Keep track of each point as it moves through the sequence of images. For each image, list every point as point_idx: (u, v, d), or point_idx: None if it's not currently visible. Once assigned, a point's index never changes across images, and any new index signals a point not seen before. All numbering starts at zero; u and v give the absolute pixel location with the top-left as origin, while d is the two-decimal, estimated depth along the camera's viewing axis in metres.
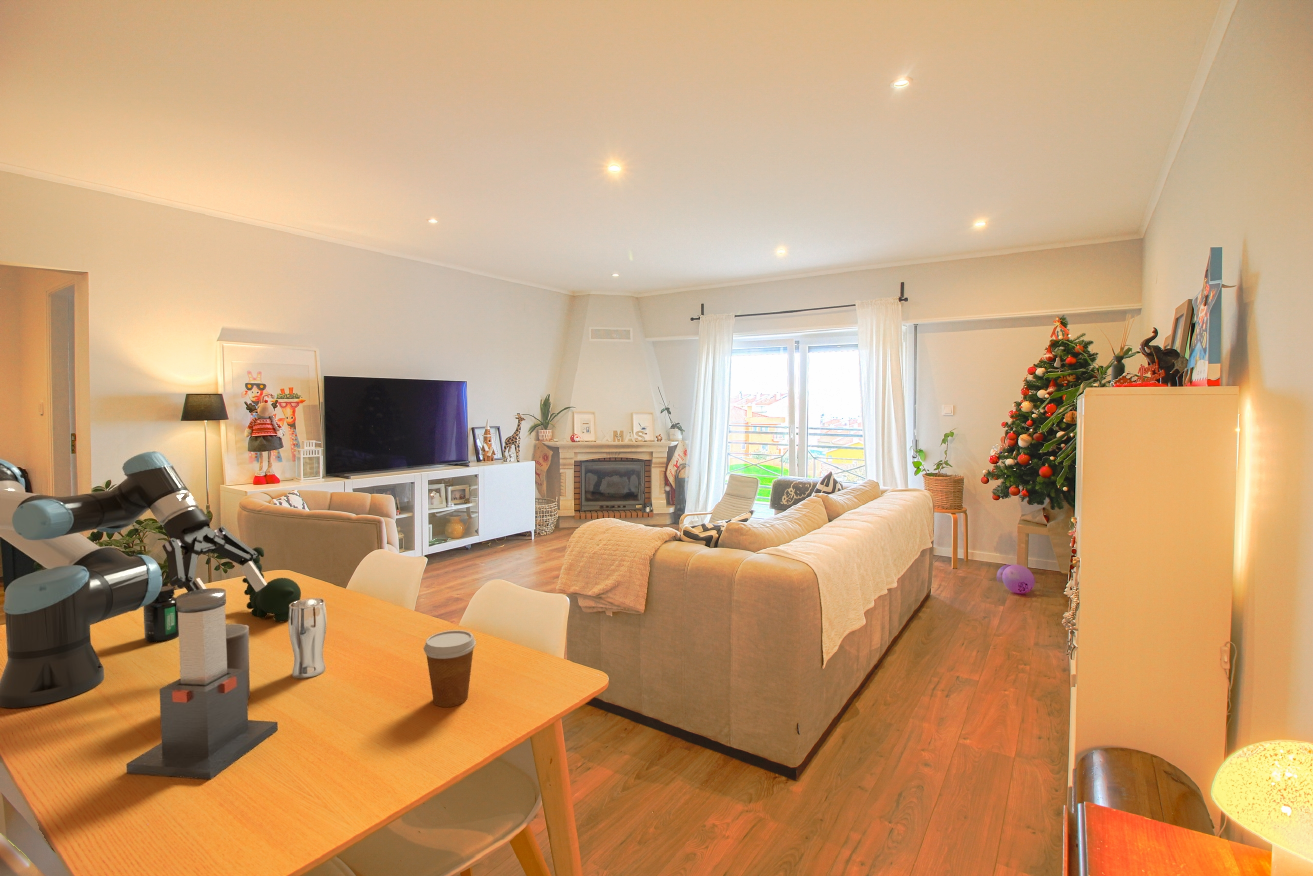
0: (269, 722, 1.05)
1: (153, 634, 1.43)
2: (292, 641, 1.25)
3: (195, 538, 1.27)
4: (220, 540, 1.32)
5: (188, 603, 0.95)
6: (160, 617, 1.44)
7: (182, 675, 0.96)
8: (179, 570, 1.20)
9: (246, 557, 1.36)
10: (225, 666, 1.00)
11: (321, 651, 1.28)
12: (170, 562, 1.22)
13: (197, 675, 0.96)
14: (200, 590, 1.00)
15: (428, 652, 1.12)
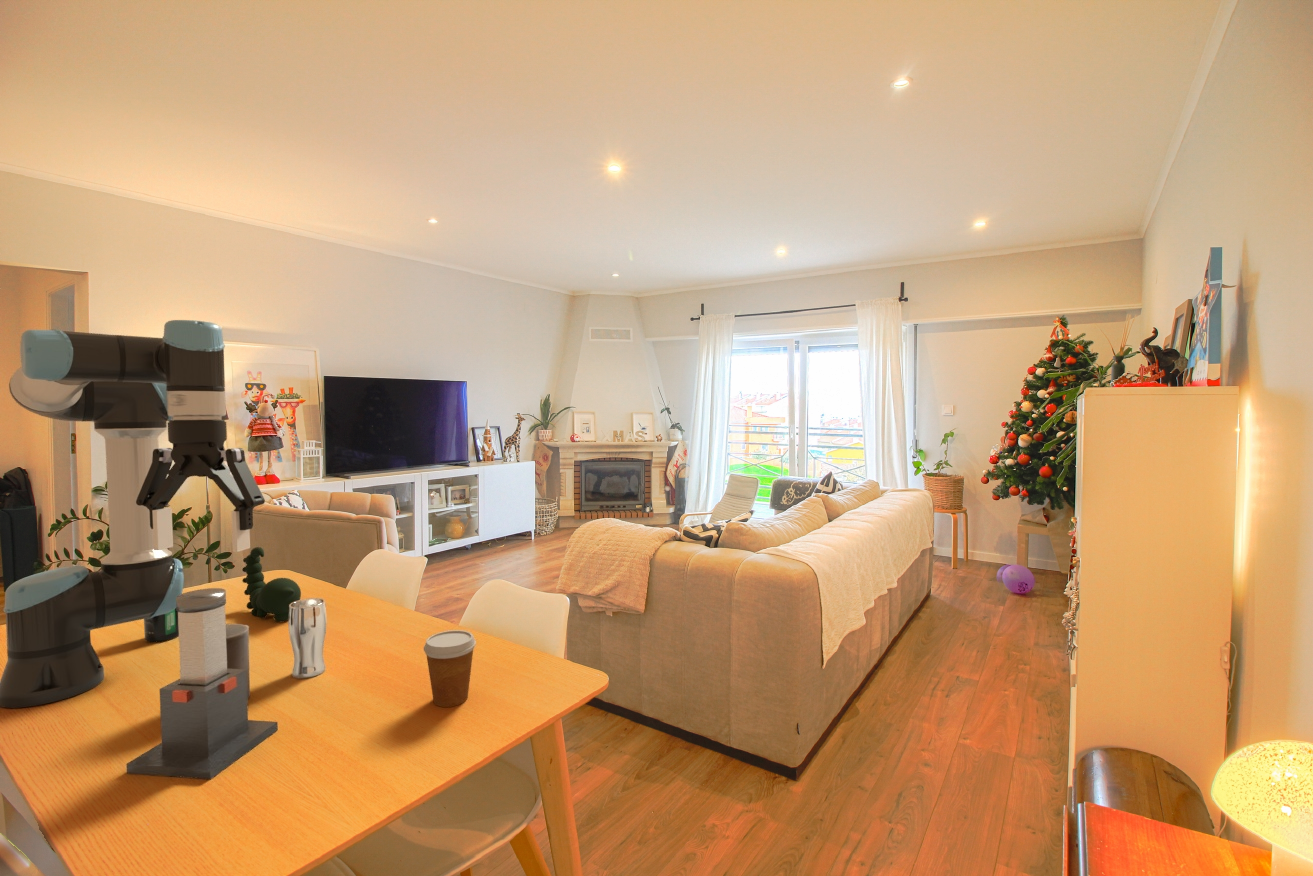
0: (269, 722, 1.05)
1: (153, 634, 1.43)
2: (292, 641, 1.25)
3: None
4: (207, 471, 0.96)
5: (188, 603, 0.95)
6: (160, 617, 1.44)
7: (182, 675, 0.96)
8: (141, 492, 0.97)
9: (234, 504, 0.96)
10: (225, 666, 1.00)
11: (321, 651, 1.28)
12: None
13: (197, 675, 0.96)
14: (200, 590, 1.00)
15: (428, 652, 1.12)
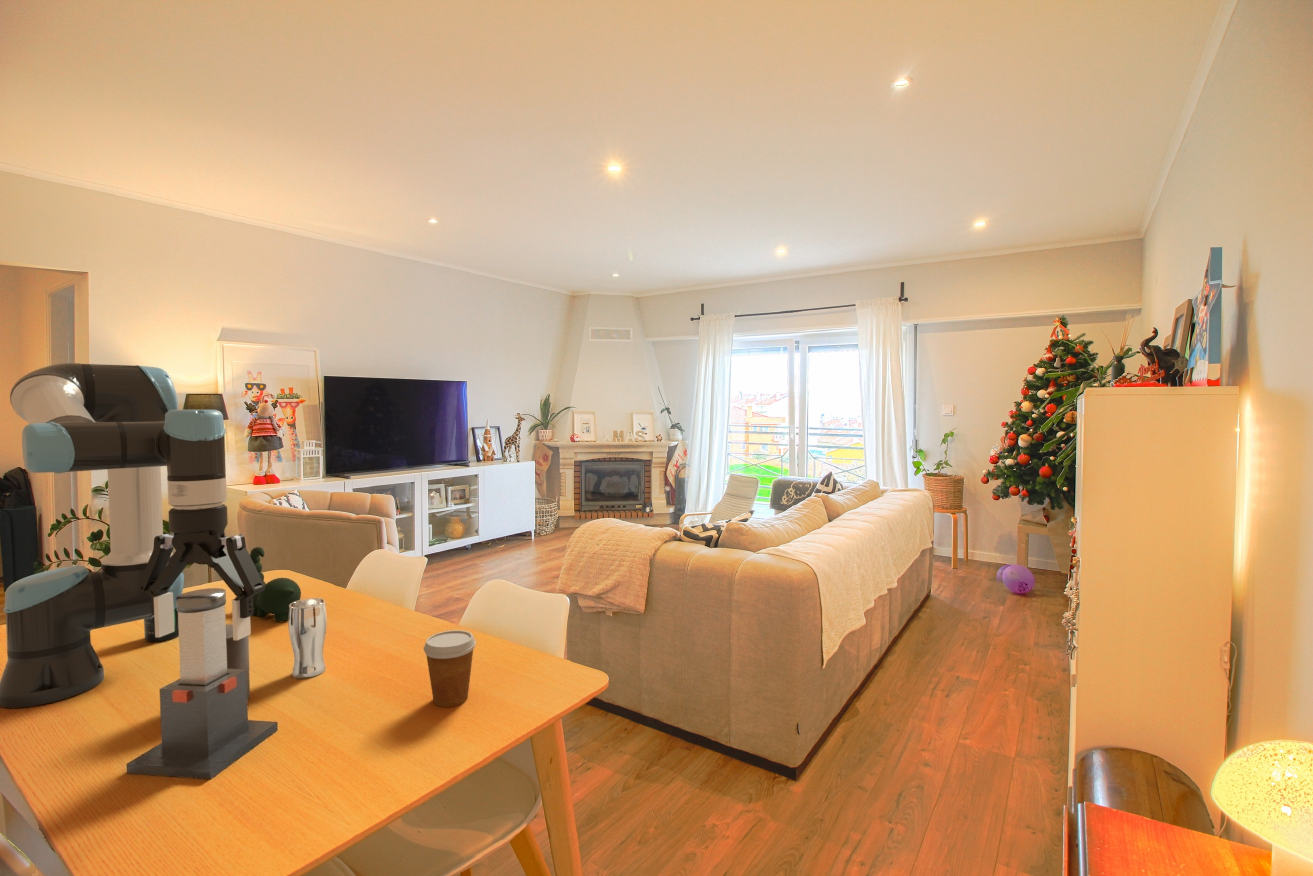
0: (269, 722, 1.05)
1: (153, 634, 1.43)
2: (292, 641, 1.25)
3: None
4: (207, 559, 0.95)
5: (188, 603, 0.95)
6: None
7: (182, 675, 0.96)
8: (142, 579, 0.97)
9: (235, 592, 0.96)
10: (225, 666, 1.00)
11: (321, 651, 1.28)
12: None
13: (197, 675, 0.96)
14: (200, 590, 1.00)
15: (428, 652, 1.12)
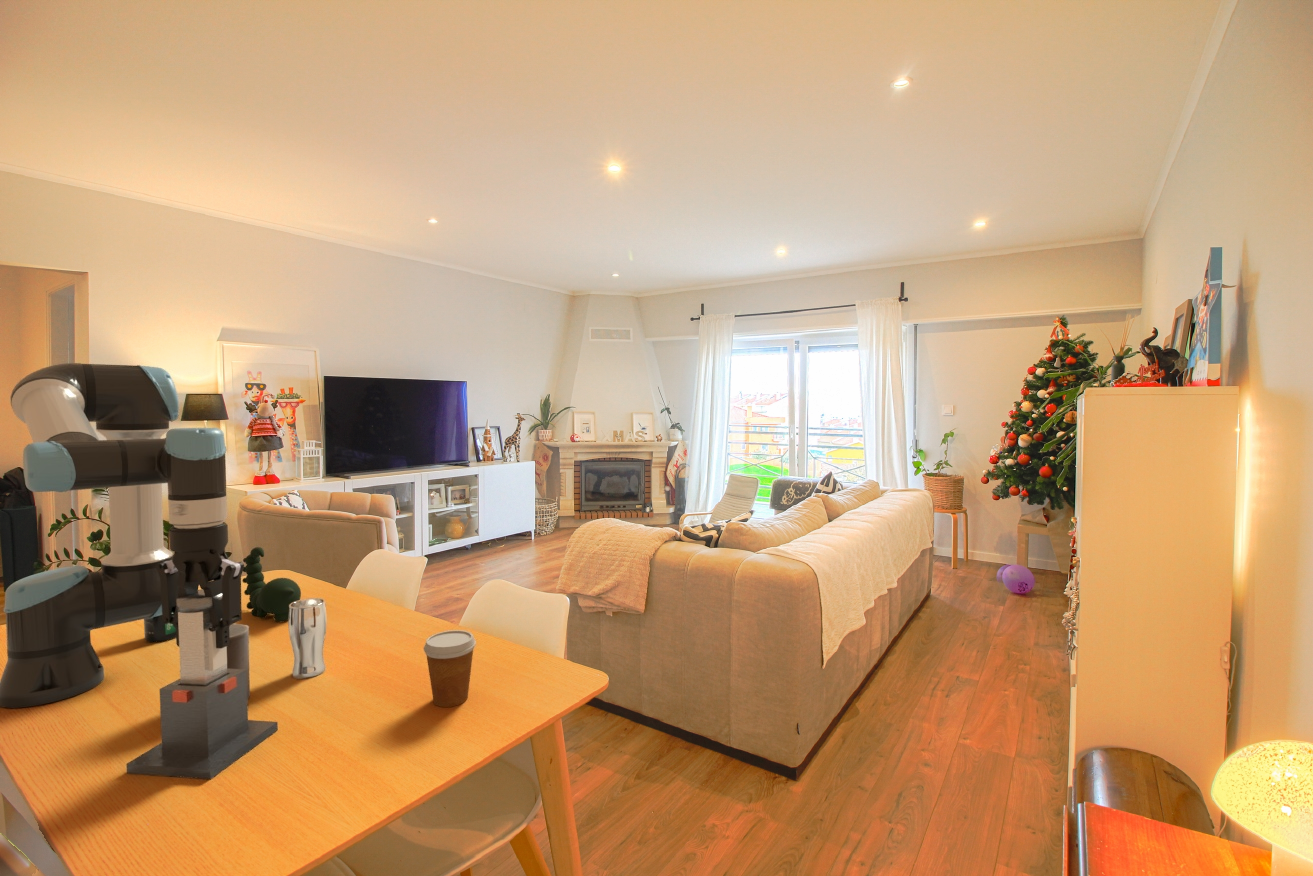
0: (269, 722, 1.05)
1: (153, 634, 1.43)
2: (292, 641, 1.25)
3: None
4: (202, 581, 0.96)
5: (188, 603, 0.95)
6: (160, 617, 1.44)
7: (182, 676, 0.96)
8: (164, 610, 0.97)
9: (212, 621, 0.96)
10: (225, 666, 1.00)
11: (321, 651, 1.28)
12: None
13: (197, 675, 0.96)
14: (200, 590, 1.00)
15: (428, 652, 1.12)
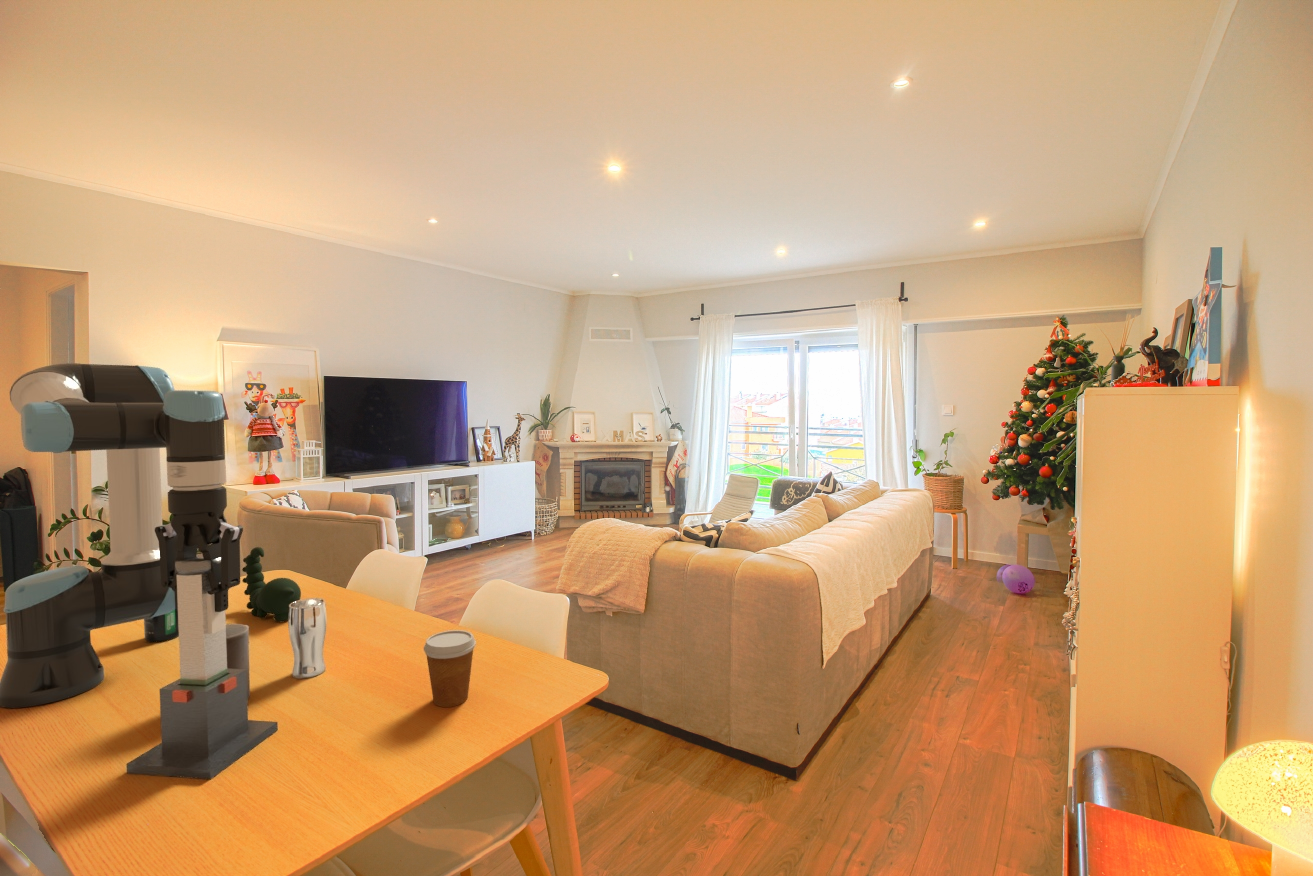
0: (269, 722, 1.05)
1: (153, 634, 1.43)
2: (292, 641, 1.25)
3: None
4: (200, 544, 0.95)
5: (187, 566, 0.94)
6: (160, 617, 1.44)
7: (181, 639, 0.96)
8: (162, 574, 0.97)
9: (211, 584, 0.96)
10: (224, 631, 1.00)
11: (321, 651, 1.28)
12: None
13: (196, 638, 0.96)
14: (199, 554, 0.99)
15: (428, 652, 1.12)
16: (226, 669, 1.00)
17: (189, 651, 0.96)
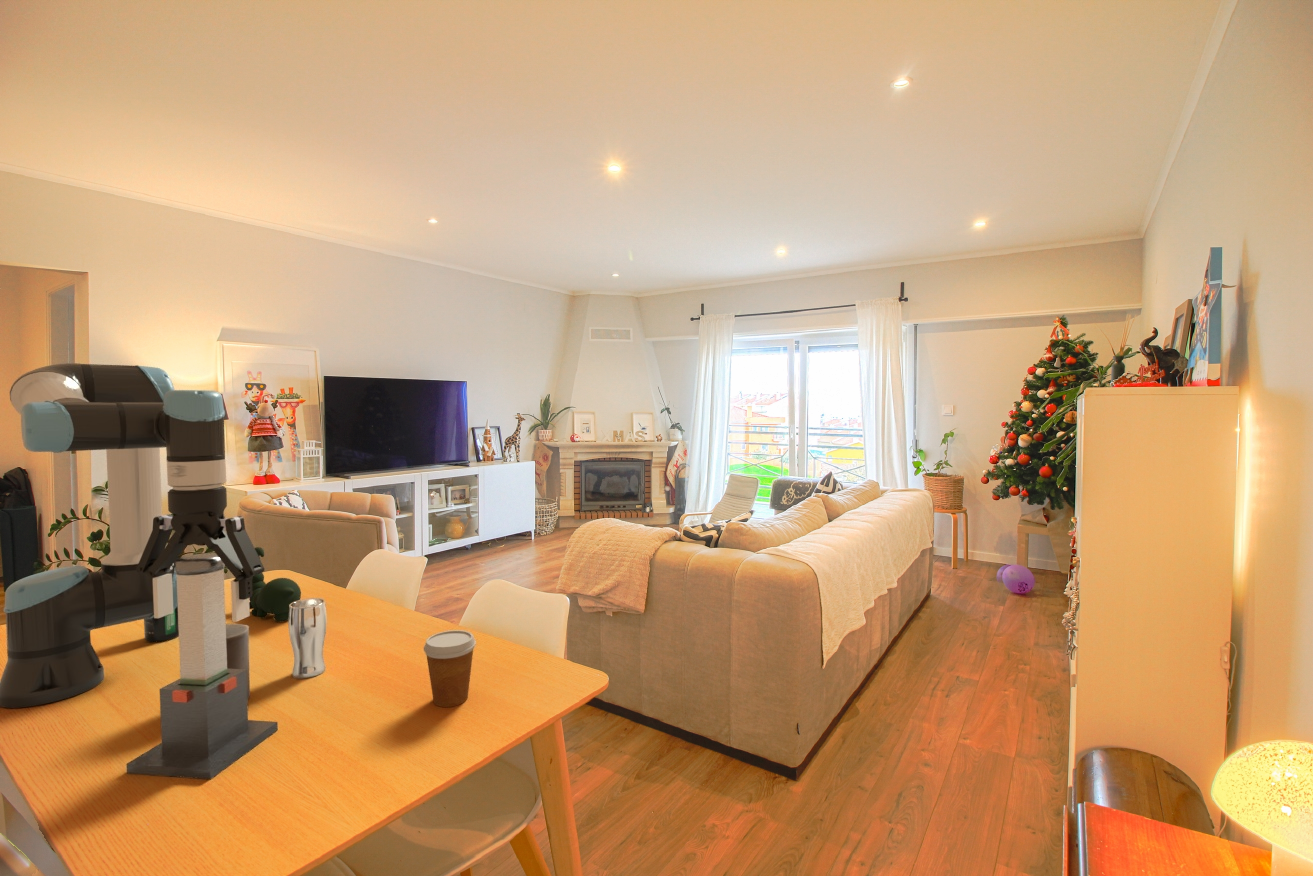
0: (269, 722, 1.05)
1: (153, 634, 1.43)
2: (292, 641, 1.25)
3: None
4: (206, 540, 0.95)
5: (187, 565, 0.94)
6: None
7: (181, 639, 0.96)
8: (142, 560, 0.97)
9: (234, 573, 0.96)
10: (224, 631, 1.00)
11: (321, 651, 1.28)
12: None
13: (196, 638, 0.96)
14: (199, 554, 0.99)
15: (428, 652, 1.12)
16: (226, 669, 1.00)
17: (189, 651, 0.96)
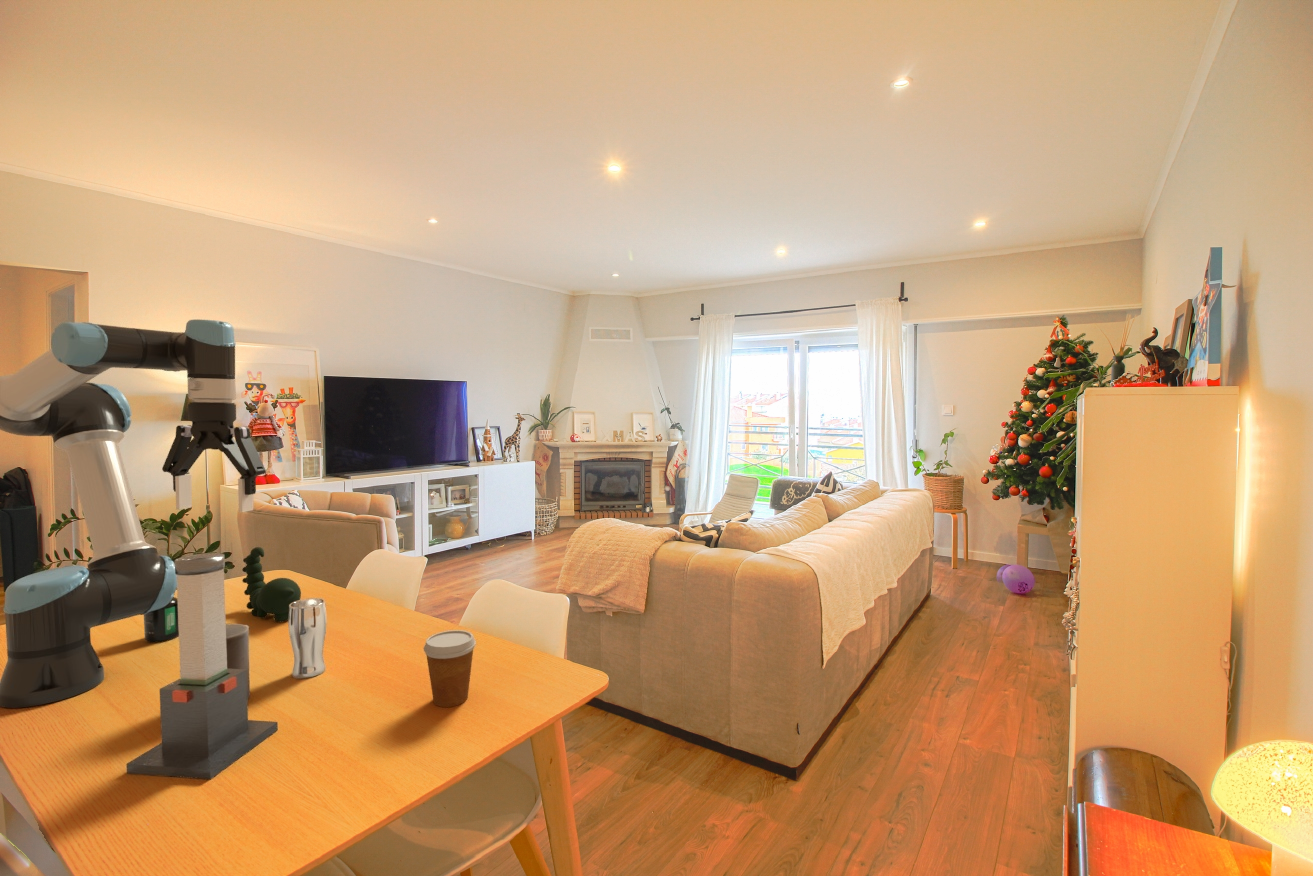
0: (269, 722, 1.05)
1: (153, 634, 1.43)
2: (292, 641, 1.25)
3: None
4: (219, 444, 1.16)
5: (187, 565, 0.94)
6: (160, 617, 1.44)
7: (181, 639, 0.96)
8: (166, 461, 1.18)
9: (240, 472, 1.16)
10: (224, 631, 1.00)
11: (321, 651, 1.28)
12: None
13: (196, 638, 0.96)
14: (199, 554, 0.99)
15: (428, 652, 1.12)
16: (226, 669, 1.00)
17: (189, 651, 0.96)
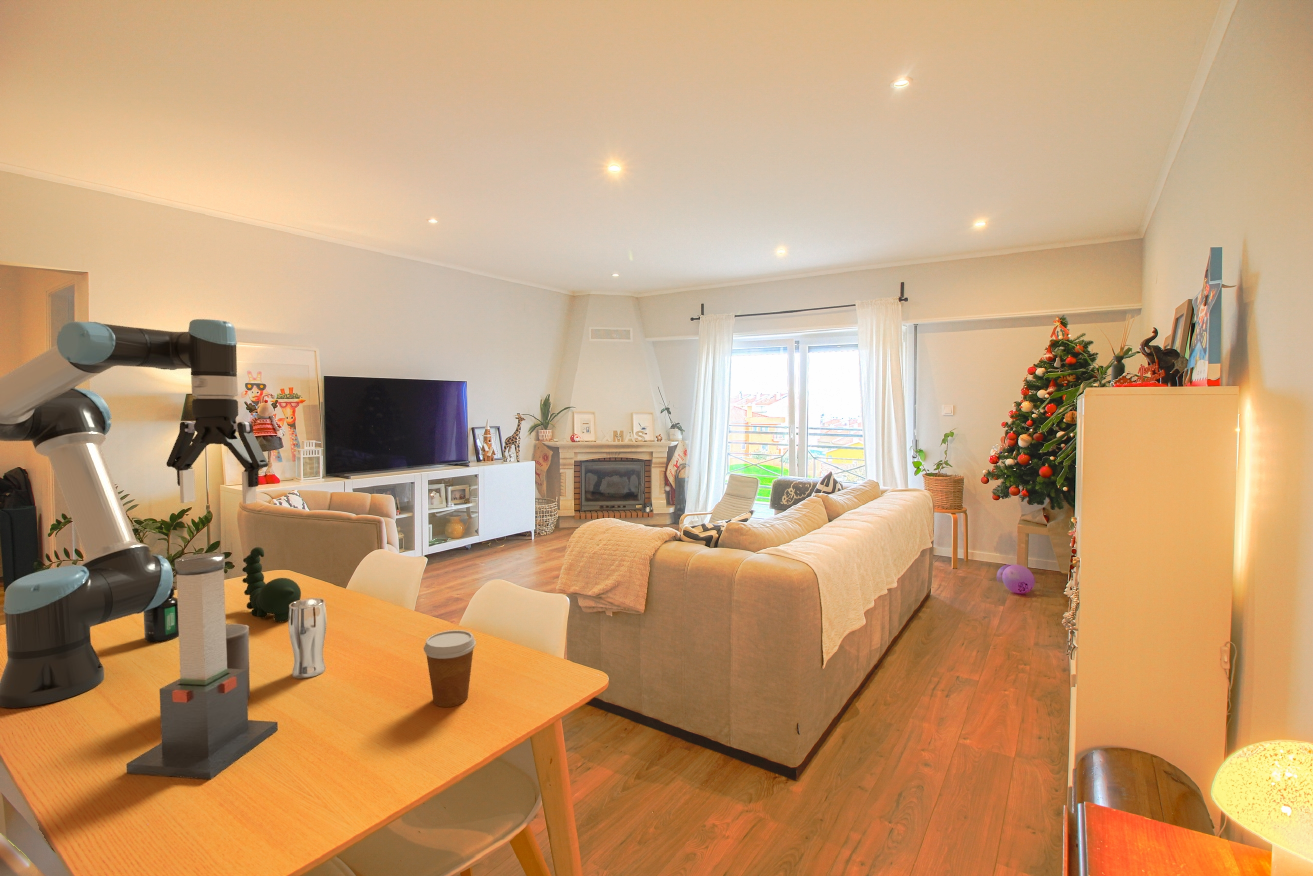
0: (269, 722, 1.05)
1: (153, 634, 1.43)
2: (292, 641, 1.25)
3: None
4: (222, 439, 1.20)
5: (187, 565, 0.94)
6: (160, 617, 1.44)
7: (181, 639, 0.96)
8: (170, 456, 1.22)
9: (244, 466, 1.21)
10: (224, 631, 1.00)
11: (321, 651, 1.28)
12: None
13: (196, 638, 0.96)
14: (199, 554, 0.99)
15: (428, 652, 1.12)
16: (226, 669, 1.00)
17: (189, 651, 0.96)
